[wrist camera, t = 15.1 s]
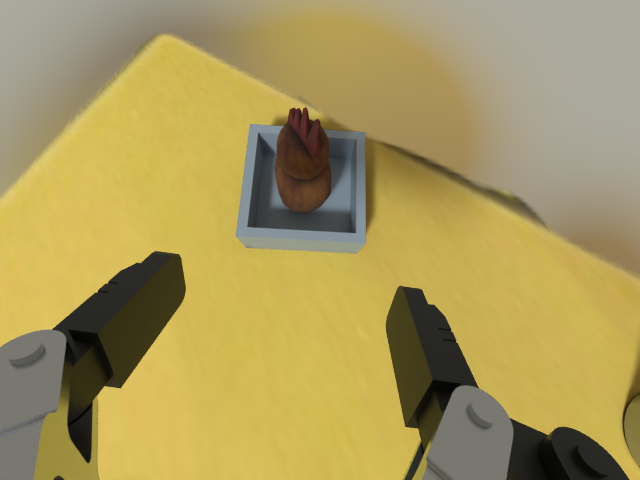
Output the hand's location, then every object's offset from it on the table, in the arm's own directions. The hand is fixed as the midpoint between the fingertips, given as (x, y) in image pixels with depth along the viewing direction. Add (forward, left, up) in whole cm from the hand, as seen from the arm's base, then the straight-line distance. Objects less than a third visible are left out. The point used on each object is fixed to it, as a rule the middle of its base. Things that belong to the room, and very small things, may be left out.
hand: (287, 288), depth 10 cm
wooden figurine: (0, -13, -20) cm, 24 cm away
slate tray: (0, -12, -21) cm, 24 cm away
